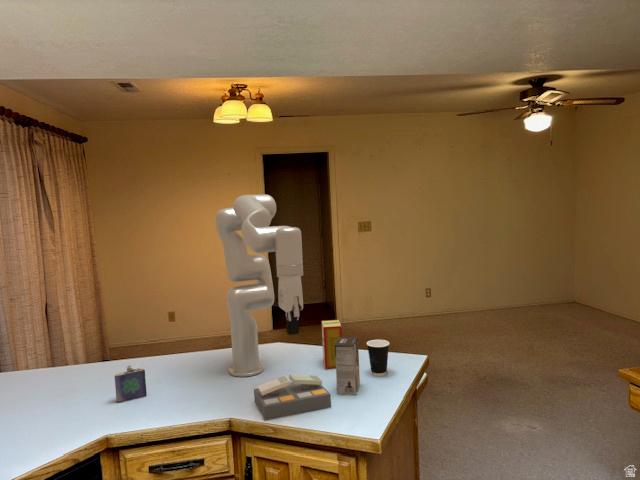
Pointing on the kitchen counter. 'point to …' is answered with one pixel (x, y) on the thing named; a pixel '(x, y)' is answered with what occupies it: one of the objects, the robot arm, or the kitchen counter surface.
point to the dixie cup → (378, 356)
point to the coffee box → (347, 365)
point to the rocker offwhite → (273, 385)
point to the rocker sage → (305, 379)
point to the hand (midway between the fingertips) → (293, 333)
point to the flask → (130, 384)
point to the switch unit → (292, 400)
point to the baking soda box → (330, 342)
